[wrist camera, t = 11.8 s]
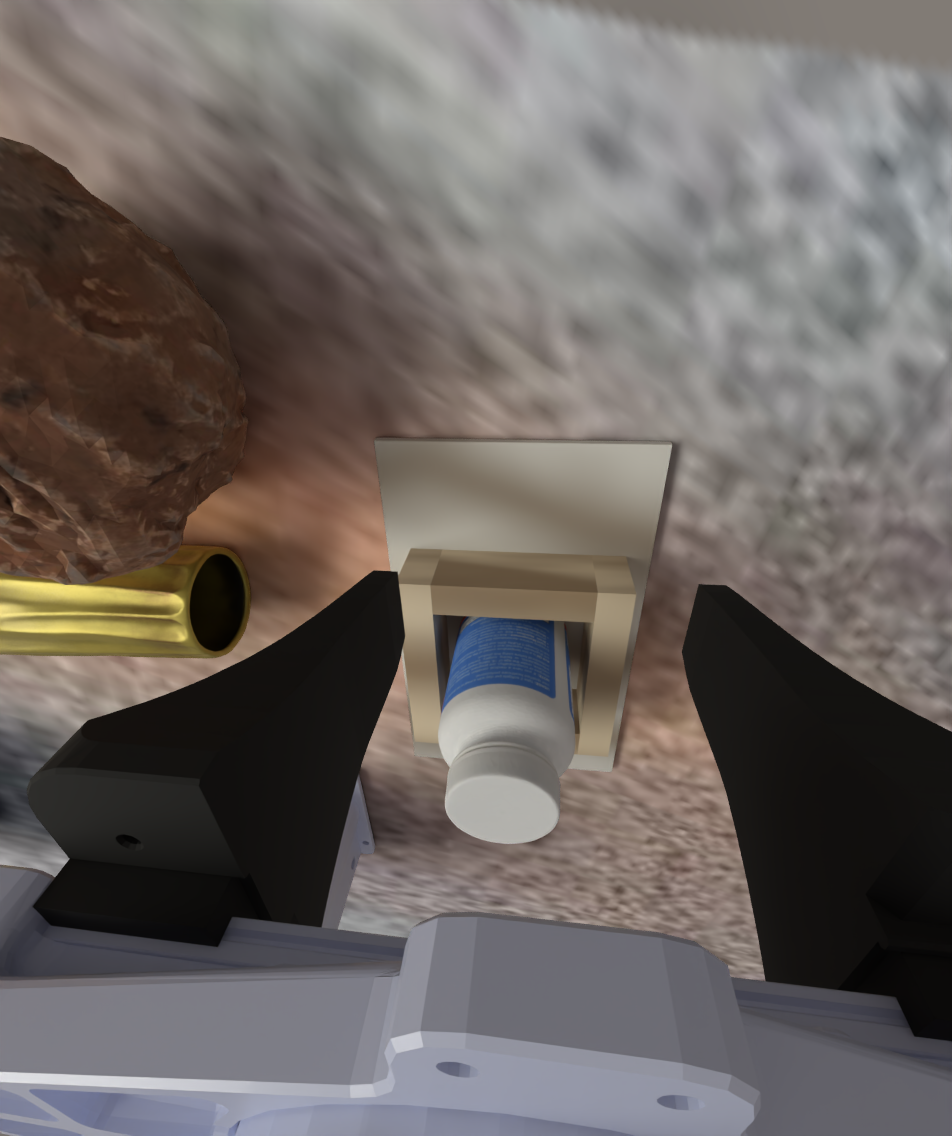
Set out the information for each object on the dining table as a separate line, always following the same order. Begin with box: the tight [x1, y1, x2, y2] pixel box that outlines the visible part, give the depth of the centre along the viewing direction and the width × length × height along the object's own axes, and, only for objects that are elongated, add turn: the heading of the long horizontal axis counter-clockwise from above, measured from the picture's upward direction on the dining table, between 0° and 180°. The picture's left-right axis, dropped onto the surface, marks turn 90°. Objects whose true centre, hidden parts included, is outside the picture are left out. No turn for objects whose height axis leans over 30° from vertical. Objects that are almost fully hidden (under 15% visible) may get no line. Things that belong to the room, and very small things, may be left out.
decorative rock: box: [0, 137, 249, 585], centre depth 17 cm, size 13×11×10 cm
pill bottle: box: [438, 616, 575, 844], centre depth 21 cm, size 6×5×10 cm
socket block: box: [374, 438, 672, 772], centre depth 25 cm, size 20×12×3 cm, turn 1°
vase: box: [0, 545, 251, 658], centre depth 24 cm, size 6×6×14 cm
